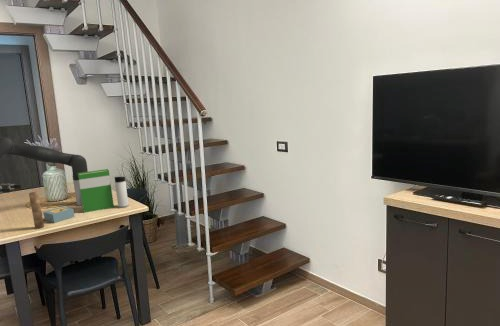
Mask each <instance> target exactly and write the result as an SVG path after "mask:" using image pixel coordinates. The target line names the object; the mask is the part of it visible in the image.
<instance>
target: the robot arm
mask: <svg viewBox="0 0 500 326" xmlns="http://www.w3.org/2000/svg"><path fill="white" fill-rule="evenodd" d="M4 155H10V156H11V155H13V156H17V157H18V156H19V157H23V158H26V159H28V160H29V159H30V160H34V161H37V162H43V163H49V164H60V165H61V164H62V165H65V166H68V167H71V171H72V181H73V189H74V194H75V202H76V205H77V206H83V203H82V197H81V190H80V184H79V177H78V173H82V172H89V171H88V163H87V160H86V158H85V156H83V155H81V154H74V153H73V154H72V153H66V152H62V151H59V150H56V149H53V148H49V147H46V146H41V145H33V144H21V143H19V142H18V143H17V142H14V141H13V140H12V139H11V138H10V137H5V136H4V137H0V158H1V157H3V156H4ZM15 189H16V190H20V189H22V185H21V184H17V183H13V182H11V183H10V182H9V183H0V193H1V194H2V193H11V190H15Z"/></svg>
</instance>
